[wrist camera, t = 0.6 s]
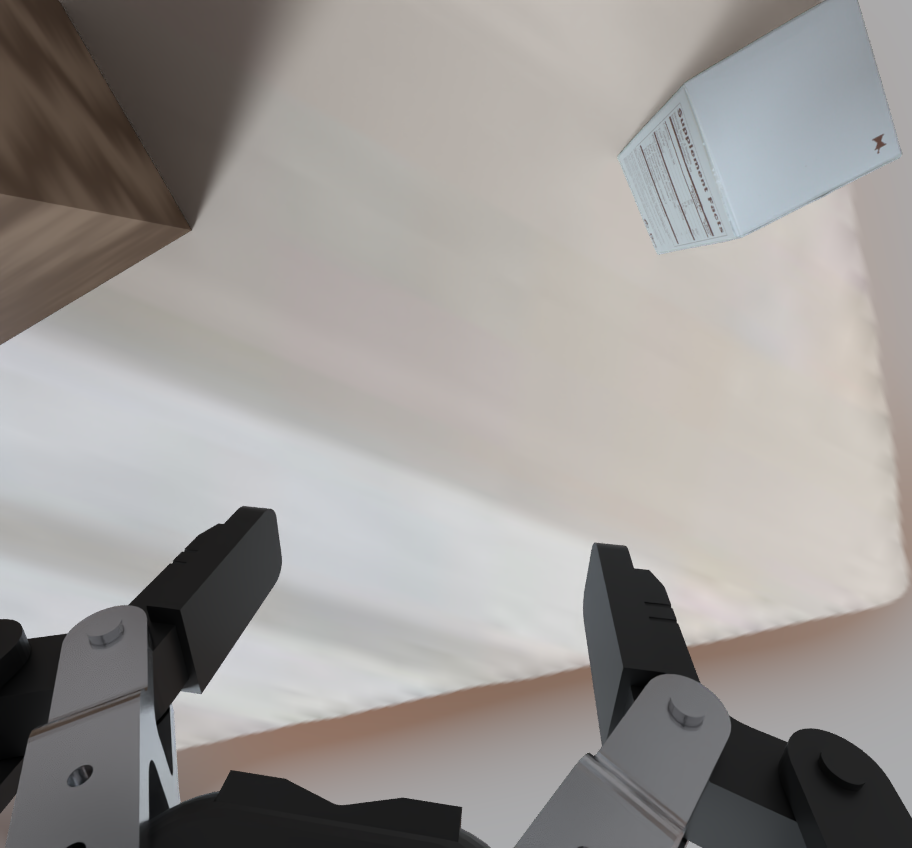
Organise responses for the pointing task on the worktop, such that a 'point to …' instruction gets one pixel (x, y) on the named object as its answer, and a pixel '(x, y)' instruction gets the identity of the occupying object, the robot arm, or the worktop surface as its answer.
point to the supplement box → (763, 132)
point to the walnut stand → (67, 172)
